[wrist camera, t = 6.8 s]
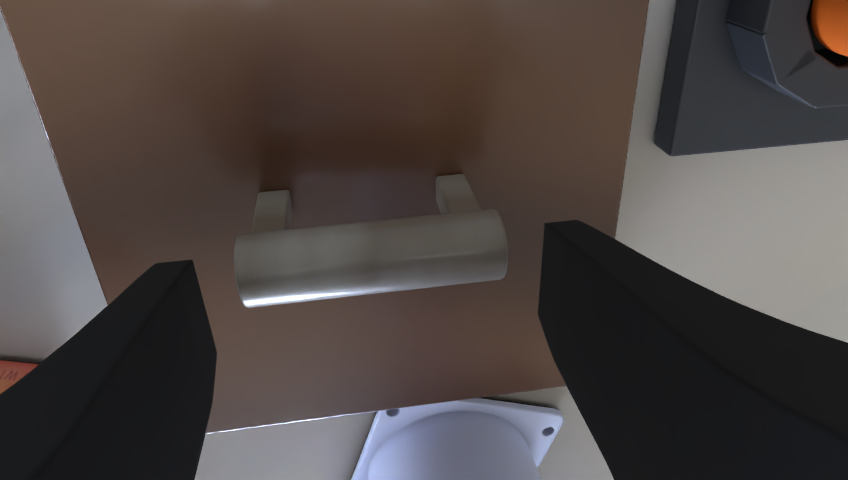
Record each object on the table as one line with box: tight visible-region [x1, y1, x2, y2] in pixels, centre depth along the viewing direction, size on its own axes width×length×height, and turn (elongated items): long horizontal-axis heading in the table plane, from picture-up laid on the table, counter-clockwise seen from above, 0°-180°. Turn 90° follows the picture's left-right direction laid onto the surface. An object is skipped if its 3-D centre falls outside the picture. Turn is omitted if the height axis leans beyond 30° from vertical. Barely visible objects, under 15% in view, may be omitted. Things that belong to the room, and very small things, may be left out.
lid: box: [0, 0, 649, 434], centre depth 13 cm, size 12×13×4 cm
